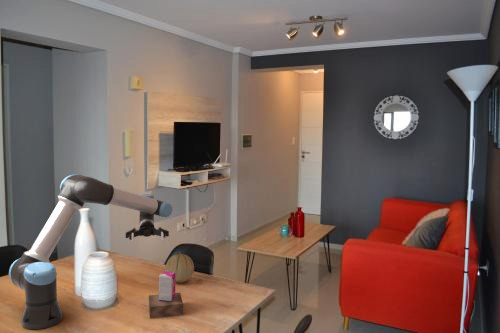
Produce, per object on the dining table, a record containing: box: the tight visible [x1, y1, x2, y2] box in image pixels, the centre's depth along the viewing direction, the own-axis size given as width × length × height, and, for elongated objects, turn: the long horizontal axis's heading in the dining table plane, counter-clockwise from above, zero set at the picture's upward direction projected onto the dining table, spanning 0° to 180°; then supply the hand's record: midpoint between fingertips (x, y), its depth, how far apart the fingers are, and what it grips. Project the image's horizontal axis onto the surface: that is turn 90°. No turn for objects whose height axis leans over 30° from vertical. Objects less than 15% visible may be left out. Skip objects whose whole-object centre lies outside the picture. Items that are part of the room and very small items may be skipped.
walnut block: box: [148, 292, 184, 319], centre depth 185 cm, size 14×12×5 cm
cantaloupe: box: [165, 251, 195, 284], centre depth 217 cm, size 15×15×15 cm
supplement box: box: [158, 270, 177, 302], centre depth 184 cm, size 6×6×12 cm
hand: (147, 238), depth 195 cm, fingers open, 13 cm apart
